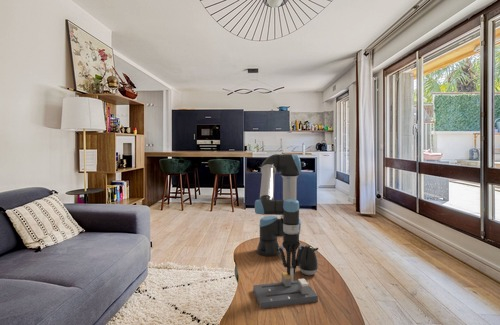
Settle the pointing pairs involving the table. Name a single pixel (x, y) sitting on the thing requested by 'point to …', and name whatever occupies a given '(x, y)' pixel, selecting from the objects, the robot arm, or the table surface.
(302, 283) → the block
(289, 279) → the amber fader
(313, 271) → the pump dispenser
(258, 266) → the table surface
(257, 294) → the console
